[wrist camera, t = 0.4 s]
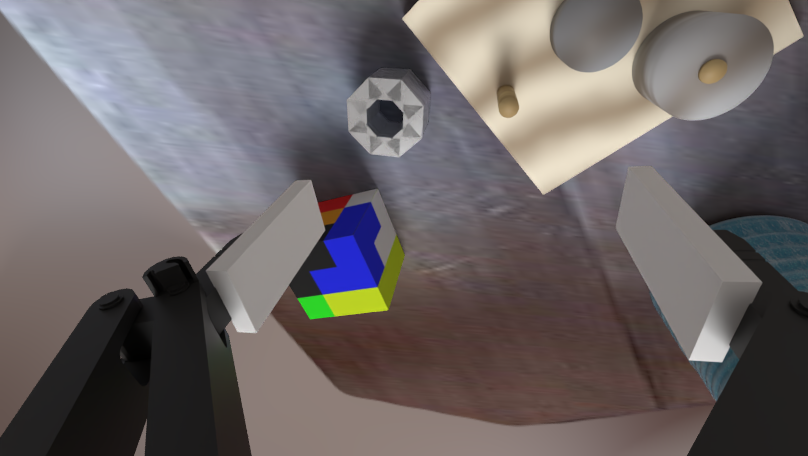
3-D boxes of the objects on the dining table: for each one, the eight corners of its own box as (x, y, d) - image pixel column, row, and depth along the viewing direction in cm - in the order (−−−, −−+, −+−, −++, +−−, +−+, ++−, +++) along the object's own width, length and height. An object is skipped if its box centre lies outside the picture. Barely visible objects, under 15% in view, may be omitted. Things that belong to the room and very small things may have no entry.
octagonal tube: (349, 101, 38) (332, 114, 34) (396, 51, 35) (384, 60, 30) (394, 151, 40) (384, 169, 36) (443, 108, 37) (438, 123, 33)
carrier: (404, 17, 33) (389, 23, 28) (662, -265, 22) (718, -346, 17) (542, 189, 39) (551, 221, 34) (792, 34, 29) (863, 45, 23)
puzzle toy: (378, 188, 43) (353, 235, 35) (404, 254, 48) (388, 310, 40) (306, 205, 46) (268, 251, 38) (338, 266, 51) (310, 319, 43)
